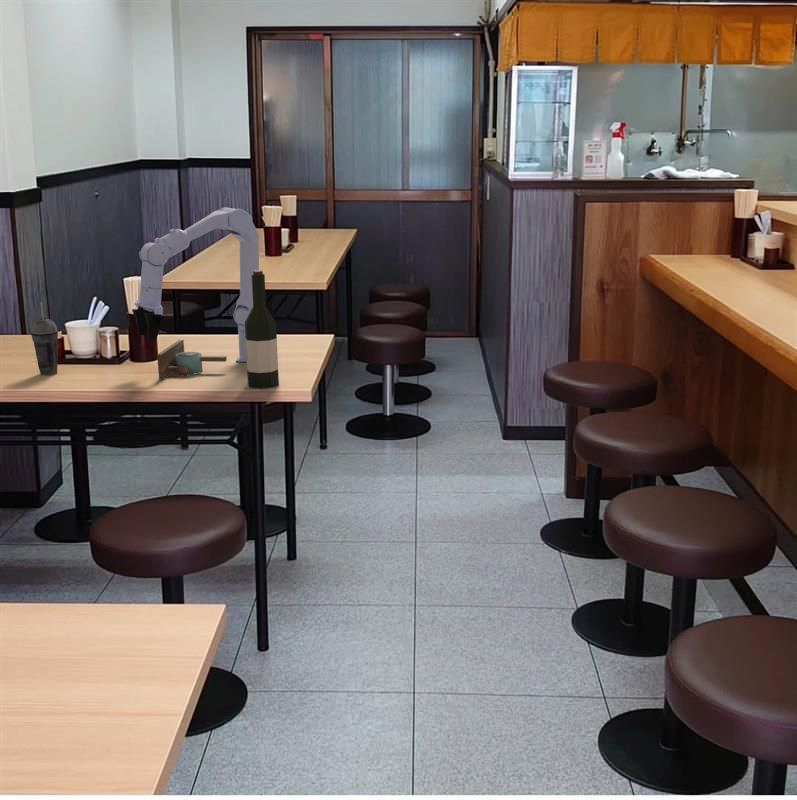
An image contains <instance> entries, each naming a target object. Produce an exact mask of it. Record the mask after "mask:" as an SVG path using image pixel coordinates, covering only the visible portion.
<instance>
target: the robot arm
mask: <svg viewBox="0 0 797 800" xmlns="http://www.w3.org/2000/svg"><path fill="white" fill-rule="evenodd" d="M213 230H223V231H226V232H228V233H229V234H232V236H233V237H234V238H236V239H237V240H238V241H239V297H238V298H237V300H236V303H235V304H236V306H235V309H234V311H233V317H232V318H233V321H234V322H235V323H236V325H237V334H238V335H237V336H238V337H237V338H238V352H239V353H238V354H239V356H238V358H236V359H235V362H236V361H238V363H239V362H243V363H244V362H245V363H247V357H246V338H245V321H246V319H247V317H248V315H249V313H250V311H251V309H252V308H253V294H252V274H253V271H256V270H260V235H259V232H258V230H257V227H256V226H255V224H254V222H253V216H252V215H251V214H250V213H248V212H247V211H246V210H244V209H243V208H230V207H226V206H225V207H221V208H220V209H219V210H218V209H217V210H215V211H213V212H212V213H210V214H208V215H207V216H205V217H204V218H202V219H200V220H199V221H197V222H195V223H193V224H192V225H190V226H189V227H187V228H185V229H184V230H183V229H180V228H171V229H170V230H169V231H168V233H167V234H166V235H163V236H162V237H160V238H159V237H156V238H155V239H154V242H146V243H145V244H144V245H143V246H142V248H141V249H140V251H139V252H138V256H139V259H140V260H141V262H142V263H141V270H140V271H141V273H140V286H139V297H138V300H136V302H134V306H136V308H132V310H131V311H132V314H133V316H134V320H135V323H136V329H137V335H138V336H144V337H145V336H147V340H150V341H151V340H152V341H156V340H157V339H158V335H159V333H160V330H161V327H162V326H163V323H164V322H165V320H166V319H167V315H166V314H164V307H163V306H162V304H161V303H162V293H163V280H164V279H163V278H164V266H165V265H166V263H167V262H168V260H169V258H170V259H171V257H174V256H175V255H177V254H179V253H181V252H182V251H185V250H186V249H188V248H189V247H190V243H191V241H193V240H195V239H197V238H199V237H202V236H204V235H206V234H207V233H209V232H211V231H213Z"/></svg>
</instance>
